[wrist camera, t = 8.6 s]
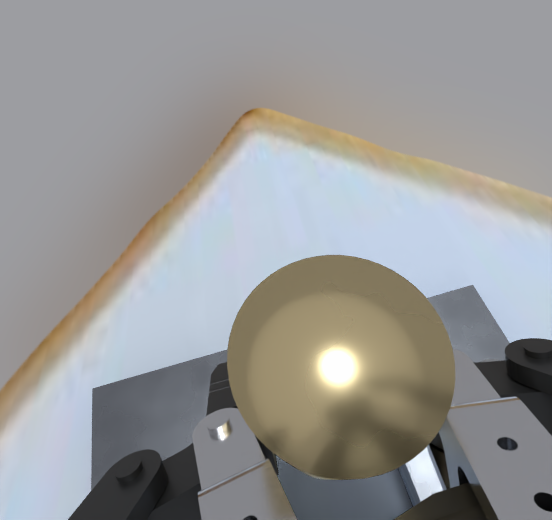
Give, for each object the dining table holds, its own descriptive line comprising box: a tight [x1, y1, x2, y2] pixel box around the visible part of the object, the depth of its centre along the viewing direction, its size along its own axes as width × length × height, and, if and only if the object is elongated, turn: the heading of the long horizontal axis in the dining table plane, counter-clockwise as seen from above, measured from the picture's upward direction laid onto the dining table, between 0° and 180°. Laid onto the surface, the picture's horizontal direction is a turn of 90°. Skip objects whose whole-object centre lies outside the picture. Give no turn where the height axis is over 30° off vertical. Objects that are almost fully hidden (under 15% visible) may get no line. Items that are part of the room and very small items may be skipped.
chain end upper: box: [91, 350, 443, 504], centre depth 20 cm, size 18×13×4 cm
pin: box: [227, 255, 455, 480], centre depth 11 cm, size 4×4×11 cm
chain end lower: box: [398, 285, 510, 507], centre depth 21 cm, size 18×13×3 cm
